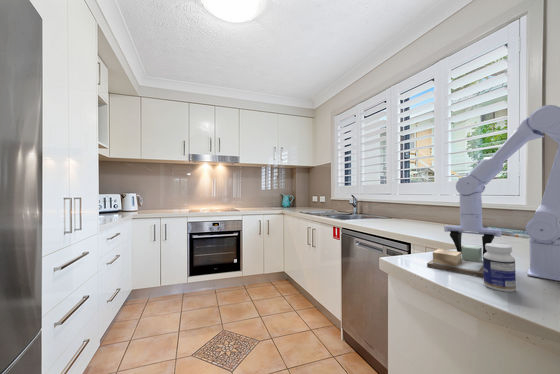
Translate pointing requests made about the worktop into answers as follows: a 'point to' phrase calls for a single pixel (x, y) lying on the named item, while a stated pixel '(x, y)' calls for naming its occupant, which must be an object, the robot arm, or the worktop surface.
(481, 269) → the board
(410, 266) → the worktop surface
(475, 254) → the sage block
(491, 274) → the pill bottle
